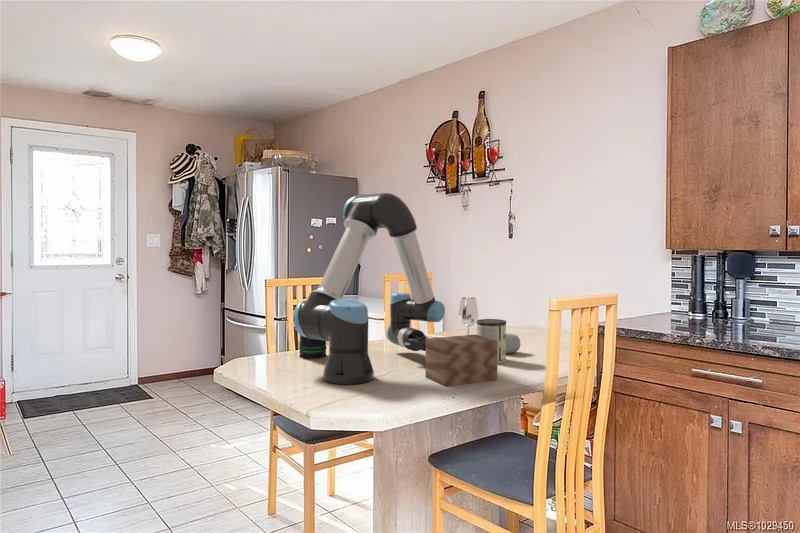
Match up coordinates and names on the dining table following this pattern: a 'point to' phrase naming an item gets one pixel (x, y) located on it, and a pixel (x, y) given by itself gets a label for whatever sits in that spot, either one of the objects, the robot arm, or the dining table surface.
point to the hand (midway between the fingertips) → (445, 350)
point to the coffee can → (494, 334)
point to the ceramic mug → (512, 343)
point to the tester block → (461, 359)
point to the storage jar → (312, 348)
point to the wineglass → (468, 312)
